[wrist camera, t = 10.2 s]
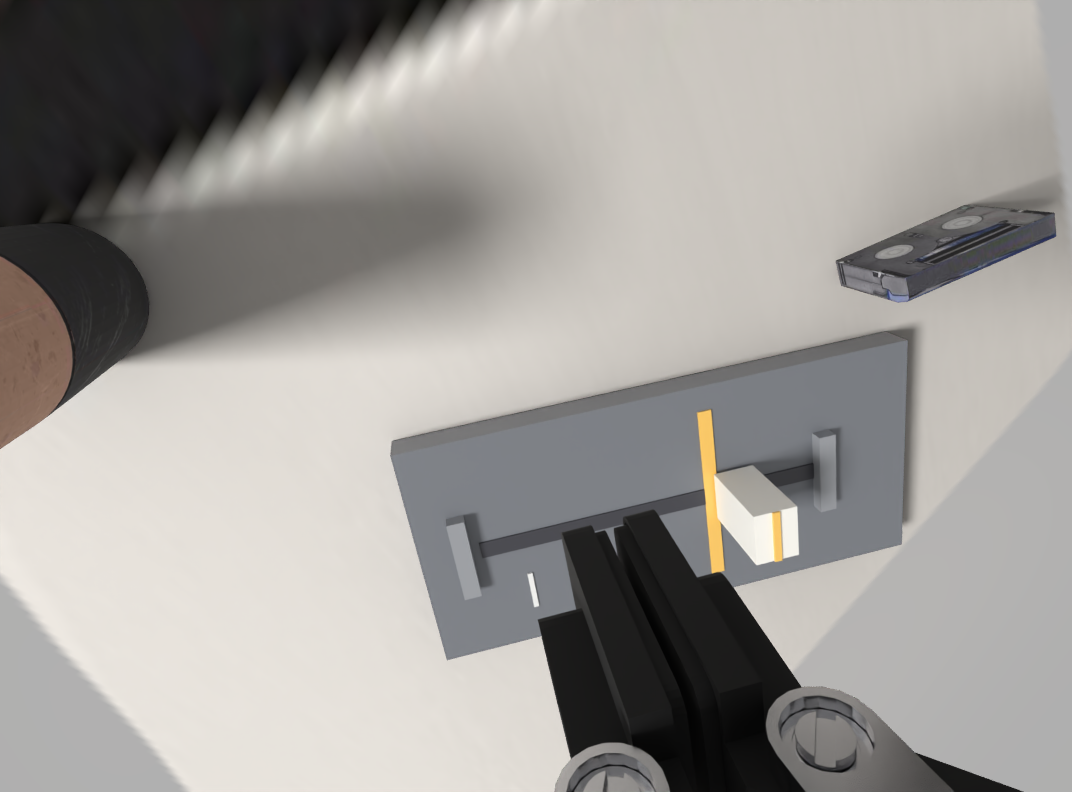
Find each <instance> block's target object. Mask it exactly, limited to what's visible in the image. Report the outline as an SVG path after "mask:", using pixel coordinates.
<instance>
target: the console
mask: <svg viewBox="0 0 1072 792" xmlns="http://www.w3.org/2000/svg"><path fill="white" fill-rule="evenodd" d="M907 350H908V340H907V339H904V338H901V337H899V336H896V335H893V334H891V333H888V332H881V333H876V334H872V335H867V336H863V337H858V338H854V339H849V340H845V341H840V342H836V343H831V344H827V345H822V346H818V347H813V348H809V349H804V350H800V351H796V352H791V353H787V354H782V355H778V356H773V357H769V358H764V359H760V360H755V361H751V362H746V363H742V364H737V365H733V366H728V367H724V368H719V369H715V370H710V371H706V372H701V373H697V374H692V375H688V376H683V377H679V378H674V379H670V380H665V381H661V382H656V383H652V384H647V385H643V386H638V387H634V388H629V389H625V390H620V391H616V392H611V393H607V394H602V395H598V396H593V397H589V398H584V399H580V400H575V401H571V402H566V403H562V404H557V405H553V406H548V407H544V408H539V409H535V410H530V411H526V412H521V413H517V414H512V415H508V416H503V417H499V418H494V419H490V420H485V421H481V422H476V423H472V424H467V425H463V426H458V427H454V428H449V429H445V430H440V431H436V432H431V433H427V434H422V435H418V436H413V437H409V438H404V439H400V440H395V441H392V445H391V455H390V456H391V460H392V463H393V467H394V471H395V474H396V478H397V481H398V485H399V489H400V492H401V496H402V499H403V503H404V507H405V510H406V514H407V518H408V521H409V525H410V528H411V532H412V536H413V539H414V543H415V546H416V550H417V554H418V557H419V561H420V564H421V568H422V572H423V575H424V579H425V582H426V586H427V590H428V593H429V597H430V600H431V604H432V608H433V611H434V615H435V618H436V622H437V626H438V629H439V633H440V636H441V640H442V644H443V647H444V651H445V654H446V658H447V660H450V659H453V658H457V657H461V656H465V655H469V654H473V653H477V652H481V651H485V650H489V649H493V648H497V647H501V646H505V645H508V644H512V643H516V642H520V641H524V640H528V639H532V638H536V637H540V636H541V632H540V627H539V623H538V619H541V618H545V617H549V616H553V615H556V614H560V613H564V612H568V611H572V610H575V609H576V607H575V602H574V597H573V592H572V587H571V582H570V577H569V573H568V568H567V563H566V558H565V553H564V548H563V543H562V537H561V532H565V531H569V530H573V529H577V528H581V527H585V526H589V525H591V526H592V527H593V529H594V531H595V533H596V532H600V531H603V530H605V531H606V532H607V534H608V536H609V539H610V541H611V543H612V545H613V547H614V549H615V551H616V554H617V549H616V543H615V537H614V528H615V527H619V526H623V517H624V516H628V515H632V514H636V513H640V512H644V511H648V510H652V509H654V510H655V511H656V512H657V514H658V515H659V517H660V518H661V520H662V522H663V523H664V525H665V527H666V528H667V530H668V531H669V533H670V535H671V536H672V538H673V539H674V541H675V543H676V544H677V546H678V547H679V549H680V551H681V552H682V554H683V555H684V557H685V559H686V560H687V562H688V564H689V565H690V567H691V568H692V570H693V572H694V573H695V575H696V576H697V577H701V576H704V575H708V574H712V573H716V572H720V573H722V574H723V575H724V576H725V577H726V578H727V579H728V581H729V582H730V584H731V585H732V586H733V587H736V586H740V585H744V584H748V583H752V582H756V581H760V580H764V579H768V578H771V577H775V576H779V575H783V574H787V573H791V572H795V571H799V570H803V569H807V568H811V567H815V566H819V565H822V564H826V563H830V562H834V561H838V560H842V559H846V558H850V557H854V556H858V555H862V554H866V553H870V552H874V551H877V550H881V549H885V548H889V547H893V546H897V545H901V544H902V516H903V483H904V450H905V417H906V383H907ZM751 465H753V466H754V467H755V468H756V469H757V470H758V471H760V472H761V473H762V474H763V475H764V476H765V477H766V478H767V479H768V480H769V481H770V482H771V483H773V484H774V485H775V486H776V487H777V488H778V489H779V490H780V491H781V492H782V493H783V494H784V495H786V496H787V497H788V498H789V499H790V500H791V501H792V502H793V503H794V504H795V505H796V506H797V514H798V542H799V555H796V556H792V557H788V558H784V559H782V561H778V562H775V561H772V562H768V563H764V564H760V565H756V564H755V563H754V562H753V561H752V559H751V558H750V557H749V556H748V554H747V553H746V552H745V551H744V550H743V548H742V547H741V546H740V545H739V544H738V542H737V541H736V540H735V539H734V537H733V536H732V535H731V534H730V533H729V531H728V530H727V529H726V528H725V527H724V525H723V524H722V523H721V522H720V521H719V519H718V517H717V505H716V493H715V482H714V474H717V473H722V472H726V471H730V470H734V469H738V468H743V467H747V466H751ZM617 556H618V555H617Z"/></svg>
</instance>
